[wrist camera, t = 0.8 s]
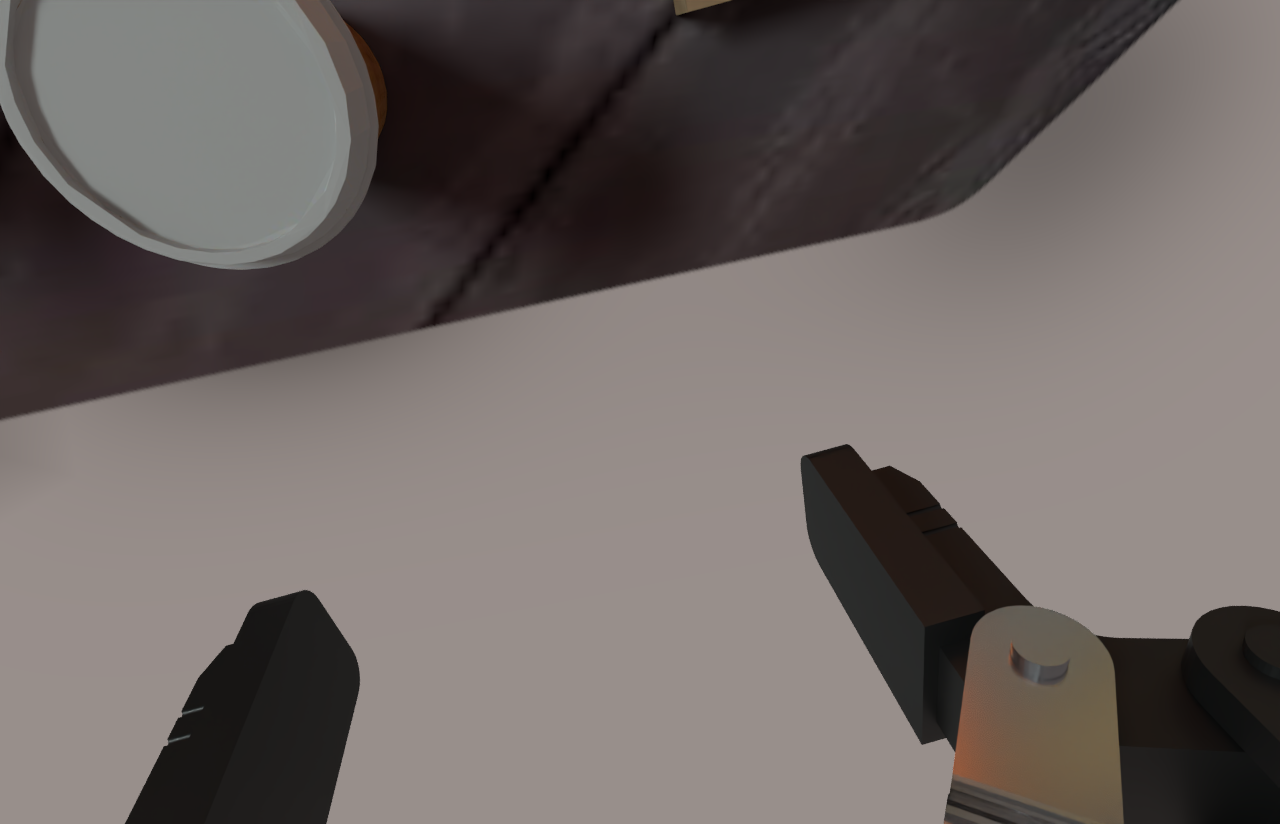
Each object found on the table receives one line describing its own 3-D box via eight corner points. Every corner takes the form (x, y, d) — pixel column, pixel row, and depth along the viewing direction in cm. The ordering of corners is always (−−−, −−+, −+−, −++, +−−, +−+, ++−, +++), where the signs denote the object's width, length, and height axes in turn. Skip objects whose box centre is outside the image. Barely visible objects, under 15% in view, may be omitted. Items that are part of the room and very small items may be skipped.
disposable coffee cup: (455, 29, 28) (412, 12, 17) (390, 237, 31) (321, 327, 21) (207, -101, 25) (-29, -217, 14) (165, 146, 28) (-48, 198, 18)
